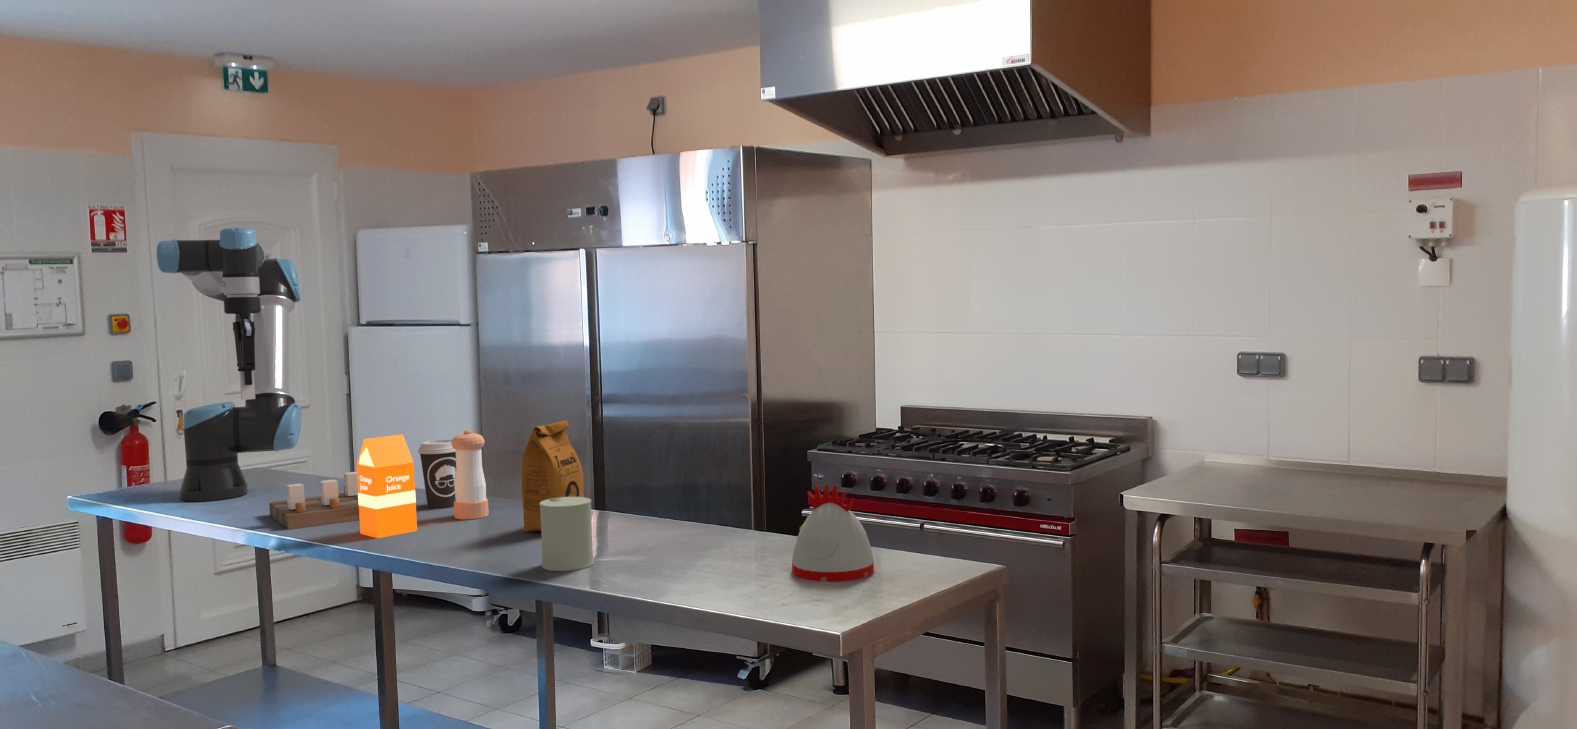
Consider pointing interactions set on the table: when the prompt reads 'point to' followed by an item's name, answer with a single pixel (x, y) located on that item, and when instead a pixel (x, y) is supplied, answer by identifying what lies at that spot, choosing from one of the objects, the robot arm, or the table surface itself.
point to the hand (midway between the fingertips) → (248, 399)
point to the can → (566, 533)
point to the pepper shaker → (469, 477)
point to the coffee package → (548, 471)
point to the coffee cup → (439, 472)
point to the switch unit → (316, 511)
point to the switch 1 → (295, 495)
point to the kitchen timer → (832, 541)
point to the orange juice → (386, 487)
